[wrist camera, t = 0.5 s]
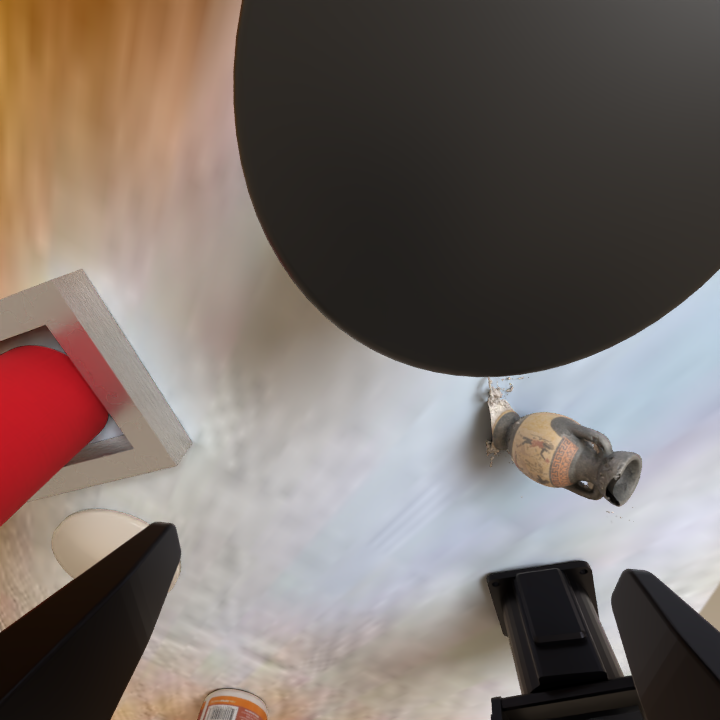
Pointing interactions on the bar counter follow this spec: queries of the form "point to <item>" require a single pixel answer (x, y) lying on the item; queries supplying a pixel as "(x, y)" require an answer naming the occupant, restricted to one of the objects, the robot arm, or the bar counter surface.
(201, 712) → the pill bottle
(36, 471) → the beverage can
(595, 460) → the vase
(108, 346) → the square frame
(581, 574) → the robot arm
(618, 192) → the jar
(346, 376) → the bar counter surface
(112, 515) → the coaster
